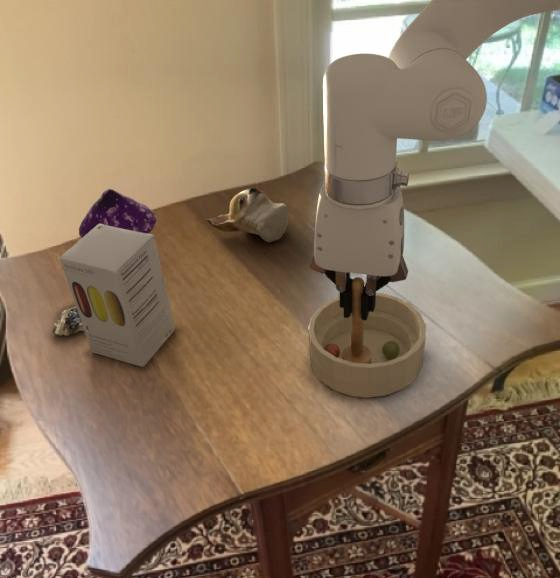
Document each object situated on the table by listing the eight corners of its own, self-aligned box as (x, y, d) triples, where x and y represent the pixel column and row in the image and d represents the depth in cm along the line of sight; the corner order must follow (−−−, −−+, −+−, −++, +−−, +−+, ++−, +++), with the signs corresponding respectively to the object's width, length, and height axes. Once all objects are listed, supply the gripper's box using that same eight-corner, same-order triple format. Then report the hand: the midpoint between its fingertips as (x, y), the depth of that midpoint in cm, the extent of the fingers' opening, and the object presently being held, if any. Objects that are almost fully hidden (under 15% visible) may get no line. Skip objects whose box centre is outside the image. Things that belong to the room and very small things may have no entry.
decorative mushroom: (142, 241, 118) (122, 163, 107) (181, 269, 110) (164, 188, 100) (80, 270, 112) (53, 191, 102) (116, 302, 105) (91, 220, 95)
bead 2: (402, 355, 91) (403, 342, 89) (391, 364, 90) (392, 351, 88) (389, 348, 92) (390, 335, 91) (378, 356, 91) (378, 343, 89)
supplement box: (90, 353, 97) (55, 257, 85) (124, 315, 103) (96, 221, 91) (144, 368, 93) (116, 271, 82) (177, 329, 99) (155, 232, 88)
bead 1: (344, 346, 90) (328, 341, 89) (340, 363, 90) (324, 358, 89) (338, 345, 92) (322, 341, 91) (334, 362, 92) (318, 358, 91)
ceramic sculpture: (262, 211, 105) (197, 191, 113) (269, 257, 111) (206, 236, 119) (303, 183, 111) (238, 167, 119) (307, 229, 117) (245, 210, 125)
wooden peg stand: (377, 359, 90) (381, 277, 80) (357, 374, 88) (359, 292, 78) (355, 346, 92) (356, 264, 82) (335, 361, 90) (334, 279, 80)
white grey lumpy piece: (55, 344, 99) (51, 334, 97) (48, 313, 104) (44, 304, 103) (99, 331, 100) (96, 321, 99) (90, 302, 106) (87, 292, 104)
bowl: (444, 357, 91) (449, 324, 87) (371, 418, 84) (372, 385, 80) (361, 311, 99) (361, 278, 95) (287, 362, 92) (285, 329, 88)
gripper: (437, 169, 72) (423, 302, 85) (299, 159, 76) (305, 287, 89) (428, 204, 67) (414, 340, 80) (280, 191, 71) (290, 322, 83)
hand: (357, 311), depth 84 cm, fingers closed on wooden peg stand, 1 cm apart
